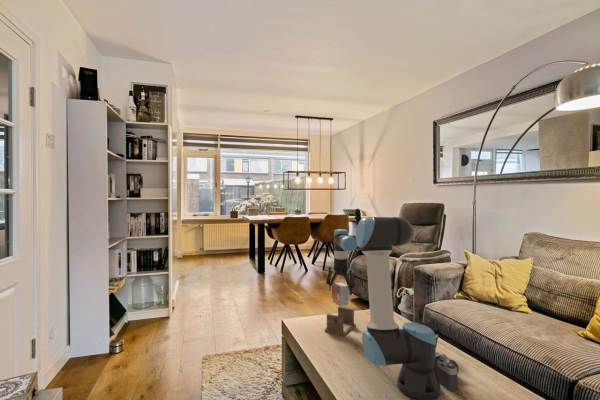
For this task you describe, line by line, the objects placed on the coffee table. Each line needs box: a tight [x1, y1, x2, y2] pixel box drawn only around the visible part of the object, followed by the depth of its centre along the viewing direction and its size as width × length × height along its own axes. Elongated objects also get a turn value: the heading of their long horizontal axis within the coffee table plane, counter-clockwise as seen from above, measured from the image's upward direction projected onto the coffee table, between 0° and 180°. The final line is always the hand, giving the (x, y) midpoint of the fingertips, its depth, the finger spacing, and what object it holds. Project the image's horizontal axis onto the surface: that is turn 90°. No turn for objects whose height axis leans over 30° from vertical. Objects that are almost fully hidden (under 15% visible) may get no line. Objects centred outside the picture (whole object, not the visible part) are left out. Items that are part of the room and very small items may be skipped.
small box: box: [332, 282, 350, 307], centre depth 173 cm, size 8×6×10 cm
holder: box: [324, 305, 357, 337], centre depth 173 cm, size 18×11×9 cm, turn 147°
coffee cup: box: [417, 322, 441, 347], centre depth 147 cm, size 11×11×12 cm
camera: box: [435, 351, 460, 392], centre depth 126 cm, size 16×10×10 cm, turn 16°
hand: (340, 298), depth 173 cm, fingers closed on small box, 9 cm apart
